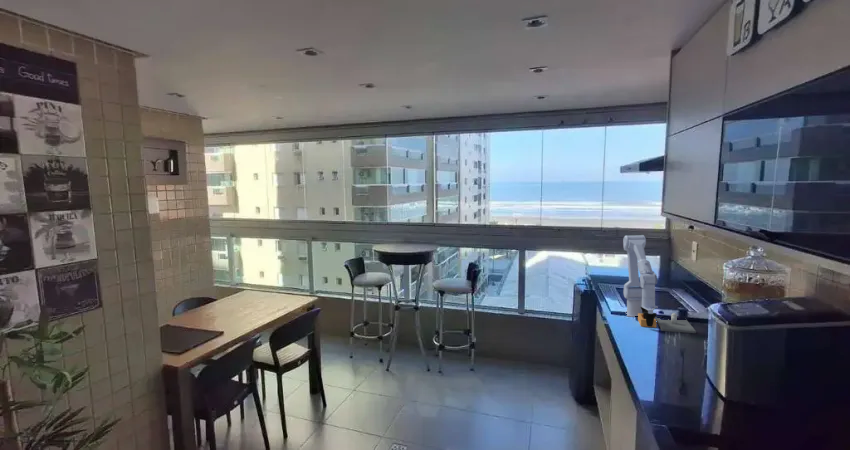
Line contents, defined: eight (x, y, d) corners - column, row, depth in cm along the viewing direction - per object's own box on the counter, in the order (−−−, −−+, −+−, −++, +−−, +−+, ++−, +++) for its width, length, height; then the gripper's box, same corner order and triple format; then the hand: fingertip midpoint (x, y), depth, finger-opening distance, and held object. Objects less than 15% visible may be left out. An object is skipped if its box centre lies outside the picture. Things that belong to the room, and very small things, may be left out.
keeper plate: (654, 318, 210) (654, 306, 210) (685, 320, 205) (685, 308, 205) (661, 330, 192) (661, 318, 191) (696, 333, 187) (696, 320, 186)
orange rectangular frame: (637, 319, 209) (637, 313, 209) (652, 320, 207) (652, 314, 206) (640, 326, 199) (640, 319, 199) (656, 327, 196) (656, 320, 196)
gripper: (660, 301, 189) (660, 329, 190) (654, 293, 203) (654, 319, 204) (643, 300, 192) (643, 327, 193) (639, 293, 205) (639, 318, 206)
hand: (648, 323), depth 198 cm, fingers open, 7 cm apart
